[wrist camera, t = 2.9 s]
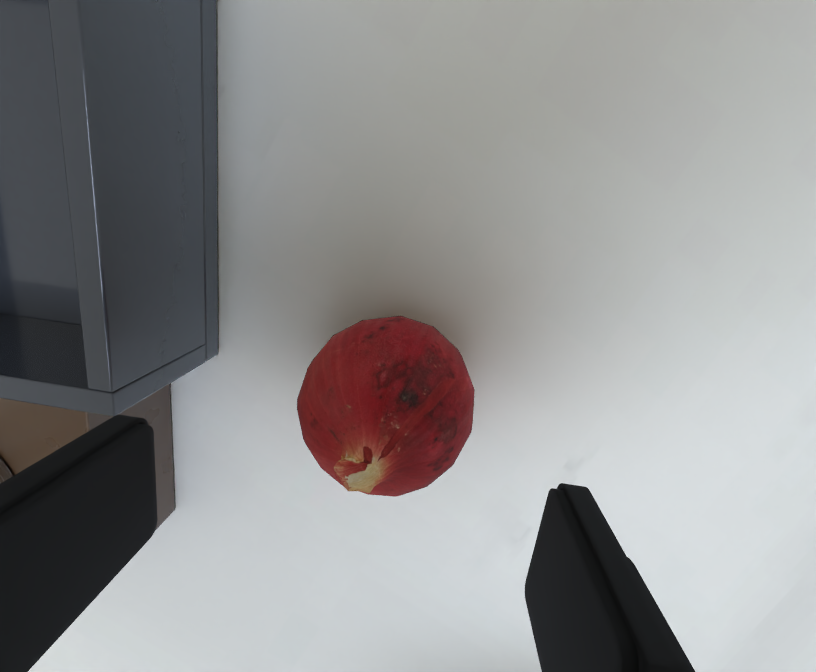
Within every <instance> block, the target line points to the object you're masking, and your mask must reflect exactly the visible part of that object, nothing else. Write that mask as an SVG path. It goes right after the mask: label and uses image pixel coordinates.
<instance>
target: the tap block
mask: <svg viewBox="0 0 816 672" xmlns="http://www.w3.org/2000/svg"><path fill="white" fill-rule="evenodd" d="M118 415H126V416H133V417H139V418H144V419H146V420H147V422H148V425H149V426H151V427H152V428H153V431H154V448H155V472H156V495H157V518H158V520H157V526H156V529H157V528H158V527H159V526H160V525H161V524H162V523H163V522H164V521H165V519H166V518H167V517H168V516H169V515H170V514H171V513H172V512H173V511H174V510H175V498H174V474H173V450H172V427H171V403H170V384H168V385H166V386H165V387H163V388H161V389H160V390H158V391H156V392H155V393H153V394H151V395H150V396H148V397H146V398H145V399H143V400H141V401H140V402H138V403H136V404H135V405H133V406H131V407H130V408H128V409H126V410H125V411H123V412H121V413H120V414H118ZM110 418H112V416H106V415H100V414H94V413H88V412H82V411H76V410H70V409H64V408H58V407H51V406H45V405H39V404H33V403H27V402H21V401H15V400H9V399H3V398H0V458H1V459H2V460H3V461H4V463H5V464H6V465H7V467H8V468H9V470H10V471H11V473H12V475H13V476H14V475H16V474H17V473H19V472H21V471H22V470H24V469H26V468H27V467H29V466H31V465H32V464H34V463H36V462H38V461H39V460H41V459H43V458H44V457H46V456H48V455H49V454H51V453H53V452H54V451H56V450H58V449H59V448H61V447H63V446H65V445H66V444H68V443H70V442H71V441H73V440H75V439H76V438H78V437H80V436H81V435H83V434H85V433H86V432H88V431H90V430H92V429H93V428H95V427H97V426H98V425H100V424H102V423H103V422H105V421H107V420H108V419H110ZM156 529H155V530H156Z"/></svg>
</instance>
